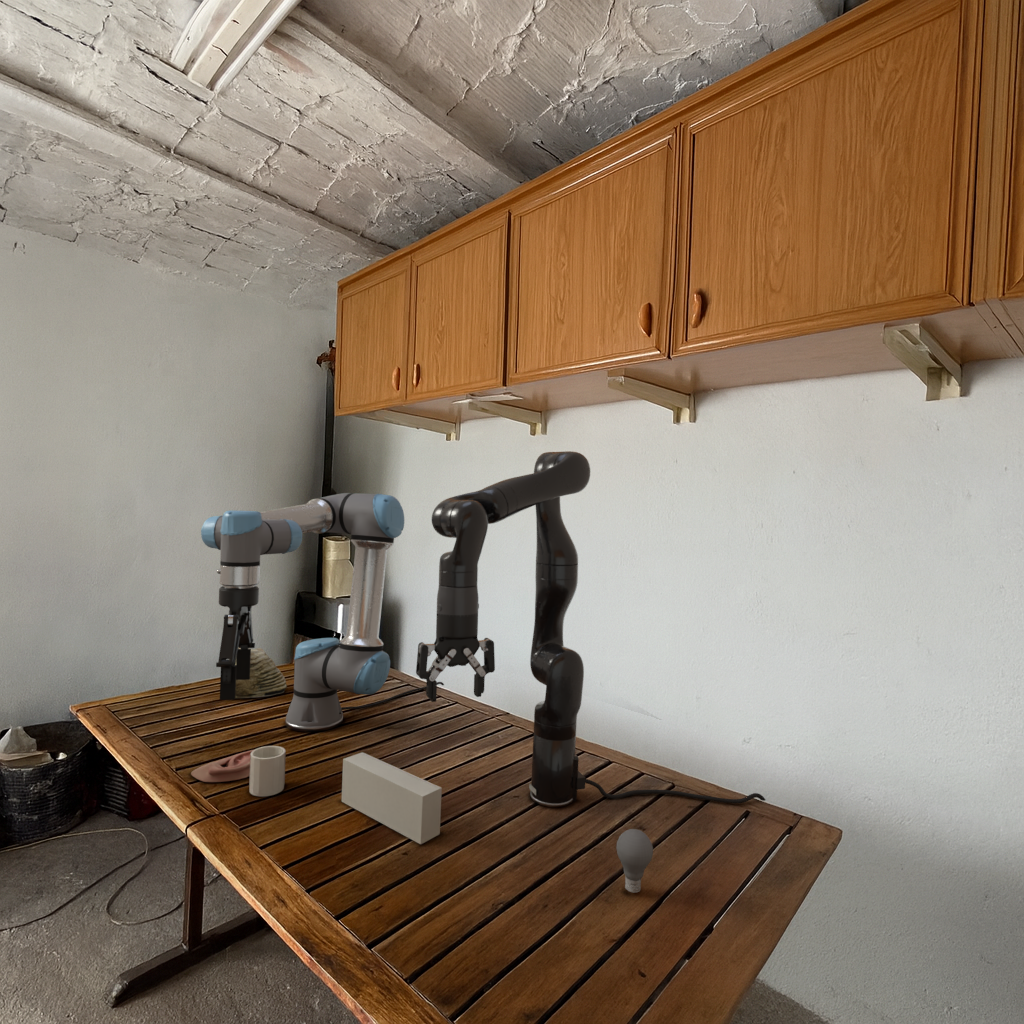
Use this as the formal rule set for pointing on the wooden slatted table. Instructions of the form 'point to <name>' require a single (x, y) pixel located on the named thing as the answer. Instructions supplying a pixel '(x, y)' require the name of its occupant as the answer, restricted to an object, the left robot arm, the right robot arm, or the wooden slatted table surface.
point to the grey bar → (392, 797)
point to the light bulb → (634, 857)
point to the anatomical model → (225, 769)
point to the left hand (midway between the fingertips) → (235, 688)
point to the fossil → (261, 677)
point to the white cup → (267, 770)
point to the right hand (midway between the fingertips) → (455, 698)
